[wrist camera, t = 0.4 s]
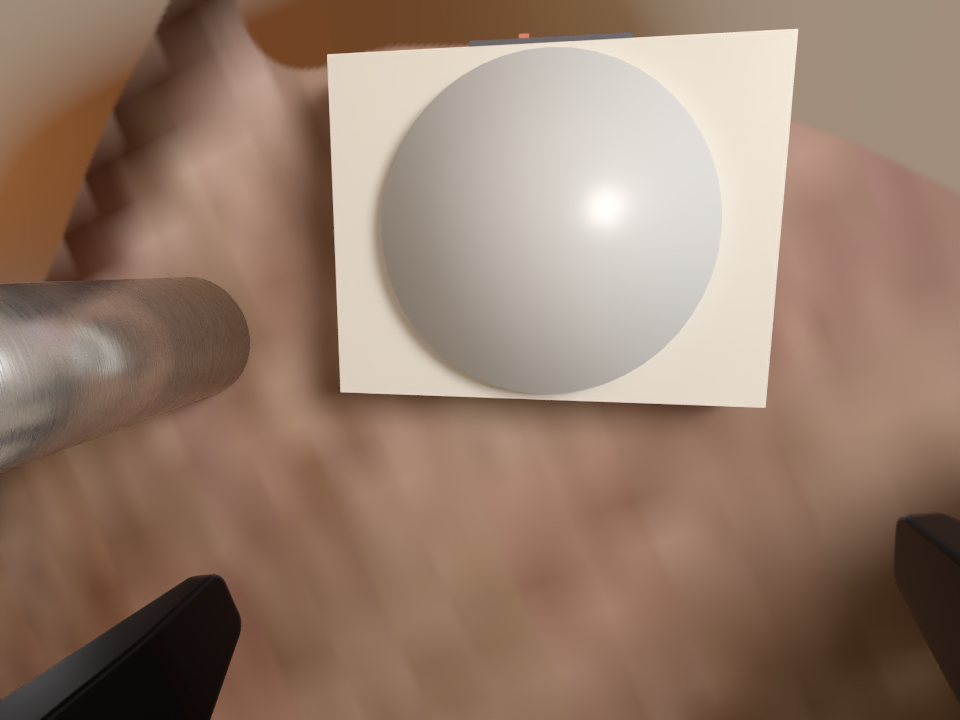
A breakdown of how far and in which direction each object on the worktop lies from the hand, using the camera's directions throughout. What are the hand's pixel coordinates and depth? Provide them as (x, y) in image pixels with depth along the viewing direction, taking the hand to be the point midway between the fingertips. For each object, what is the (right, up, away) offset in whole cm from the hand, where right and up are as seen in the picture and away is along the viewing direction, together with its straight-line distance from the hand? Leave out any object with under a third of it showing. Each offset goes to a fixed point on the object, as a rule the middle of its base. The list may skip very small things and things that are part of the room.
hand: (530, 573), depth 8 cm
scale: (+2, +7, +13) cm, 15 cm away
